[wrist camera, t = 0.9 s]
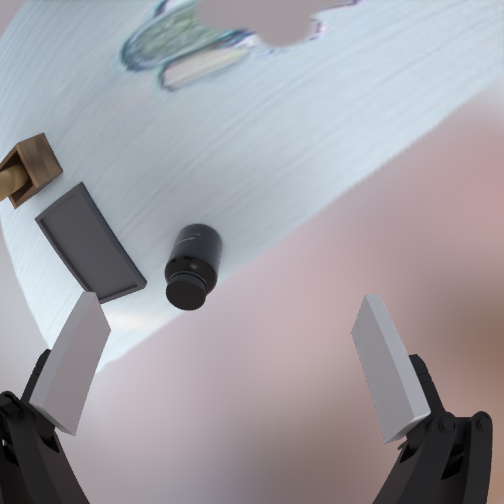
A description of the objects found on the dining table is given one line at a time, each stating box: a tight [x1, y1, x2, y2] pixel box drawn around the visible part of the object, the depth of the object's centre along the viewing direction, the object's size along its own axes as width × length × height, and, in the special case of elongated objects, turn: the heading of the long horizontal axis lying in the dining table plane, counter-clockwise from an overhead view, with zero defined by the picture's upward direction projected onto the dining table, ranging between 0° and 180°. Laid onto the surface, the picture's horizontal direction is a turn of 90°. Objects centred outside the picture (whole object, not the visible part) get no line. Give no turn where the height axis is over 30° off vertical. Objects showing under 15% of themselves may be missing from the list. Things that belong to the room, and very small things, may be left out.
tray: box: [35, 182, 147, 304], centre depth 41 cm, size 20×12×2 cm, turn 22°
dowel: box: [0, 161, 32, 202], centre depth 26 cm, size 4×4×16 cm
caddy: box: [0, 133, 63, 209], centre depth 31 cm, size 7×7×6 cm
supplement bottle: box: [165, 225, 222, 311], centre depth 37 cm, size 7×7×12 cm
